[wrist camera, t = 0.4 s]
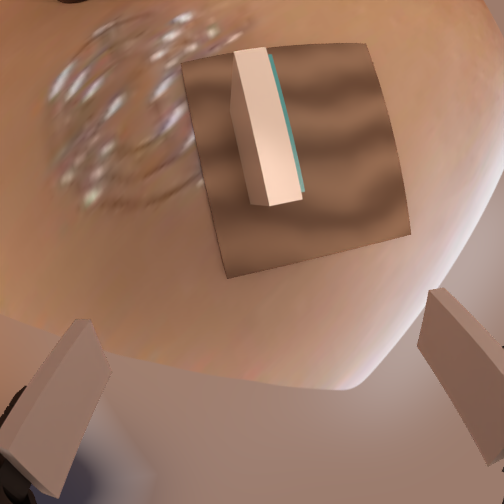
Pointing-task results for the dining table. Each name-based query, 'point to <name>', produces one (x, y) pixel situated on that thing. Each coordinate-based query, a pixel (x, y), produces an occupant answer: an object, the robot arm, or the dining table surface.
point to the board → (303, 159)
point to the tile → (263, 130)
